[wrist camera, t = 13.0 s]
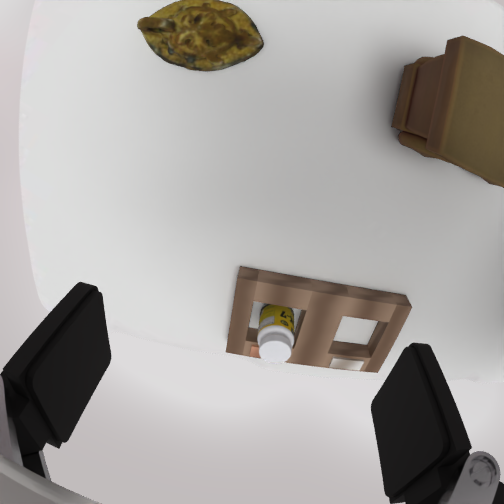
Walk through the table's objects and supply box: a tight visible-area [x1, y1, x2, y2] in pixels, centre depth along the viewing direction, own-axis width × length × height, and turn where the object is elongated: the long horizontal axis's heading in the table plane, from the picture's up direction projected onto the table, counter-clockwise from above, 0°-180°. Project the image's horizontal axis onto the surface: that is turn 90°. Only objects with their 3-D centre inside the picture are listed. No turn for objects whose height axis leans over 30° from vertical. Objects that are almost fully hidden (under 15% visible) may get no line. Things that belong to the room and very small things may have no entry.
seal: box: [137, 0, 264, 71], centre depth 28 cm, size 9×5×15 cm
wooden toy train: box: [391, 36, 504, 188], centre depth 24 cm, size 20×11×17 cm, turn 79°
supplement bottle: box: [257, 304, 294, 364], centre depth 41 cm, size 5×5×8 cm
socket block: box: [226, 266, 412, 373], centre depth 44 cm, size 24×13×3 cm, turn 81°
